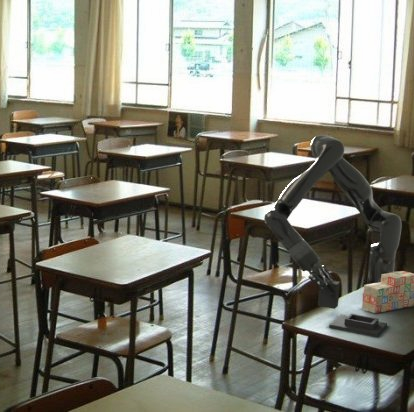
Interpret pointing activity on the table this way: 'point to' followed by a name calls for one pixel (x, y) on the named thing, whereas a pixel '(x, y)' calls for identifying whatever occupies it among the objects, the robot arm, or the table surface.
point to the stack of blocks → (389, 292)
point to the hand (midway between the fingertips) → (334, 293)
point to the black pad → (325, 299)
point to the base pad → (359, 324)
